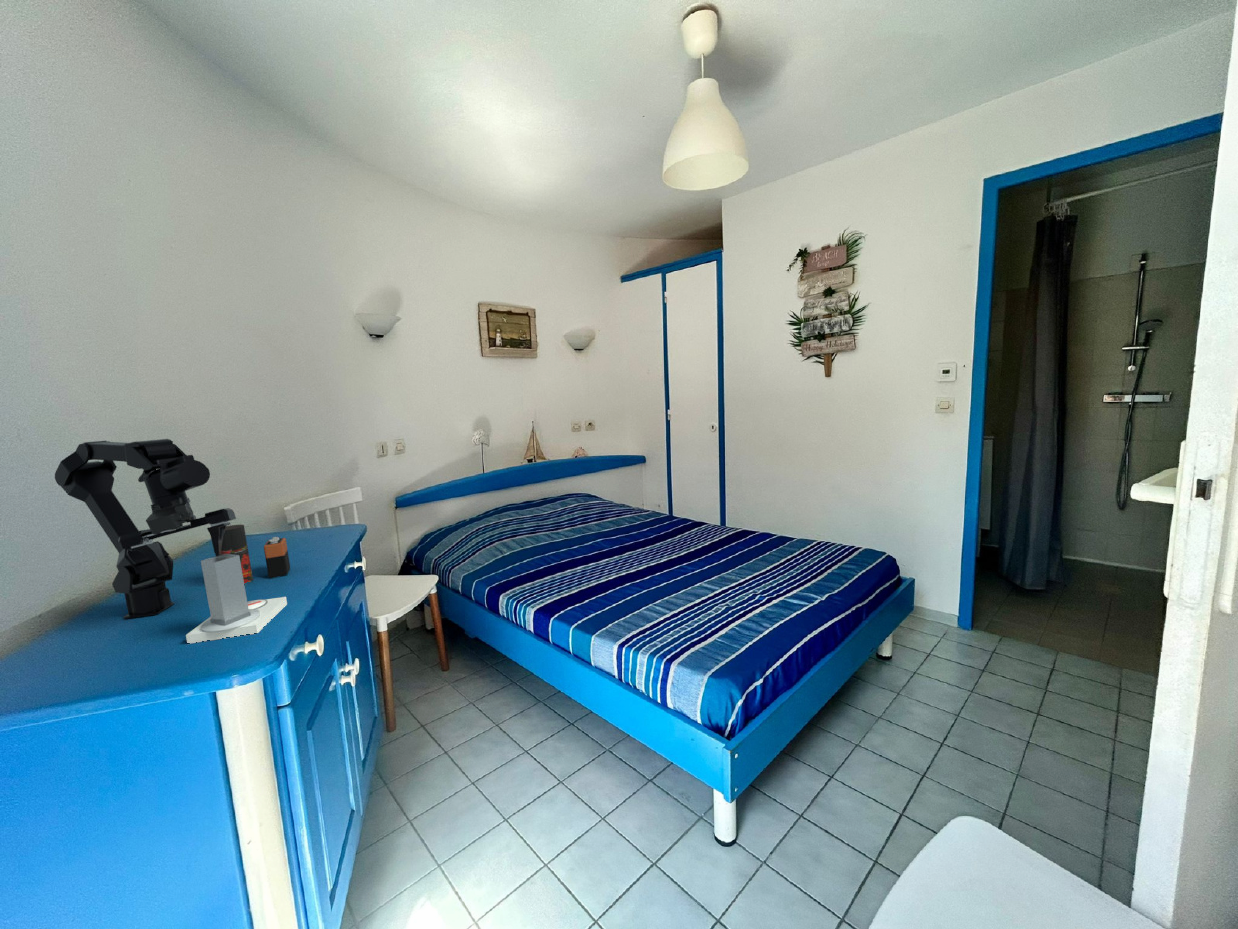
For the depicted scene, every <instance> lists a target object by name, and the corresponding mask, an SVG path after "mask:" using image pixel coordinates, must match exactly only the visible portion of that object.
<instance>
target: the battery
mask: <svg viewBox="0 0 1238 929" xmlns="http://www.w3.org/2000/svg"><path fill="white" fill-rule="evenodd" d="M263 551H264V557H265V563H266V570H267V576H268V578H269V579H273V577H275V578H279V577H278V576H280V577H285V576H288V574H289V572H290V570H291V564H290V558H289V557H290V556H289V551H288V545H287V538H285V537H281V538H279V536H274V537H272V539H269V540H267V542H265V544H264V545H263ZM284 575H285V576H284Z"/></svg>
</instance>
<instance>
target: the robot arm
mask: <svg viewBox="0 0 1238 929" xmlns="http://www.w3.org/2000/svg"><path fill="white" fill-rule="evenodd" d="M92 460H93V461H92ZM115 461H116V462H124V463H126V465H127V466H128V467H132V468H135V469H138V470H142V473H141V475H140V476H139V477H138V479H137V480H138V483H144V485H145V487H146V490H147V493H148V495H149V496H148V497H149V499H150V502H151V504H150V508H151V509H150V510H151V514H150V515H148V517H147V518H146V520H145V522H146V524H147V526H148V528H147V529H142V530H139V529H138V527H137V526H136V524H135V523H134V521H133V520H132V519H131V518H132V517H130V515H129V514H128V513H127V511H126V510H125V508H124V507H123V505H122V504H121V502H120V501H119V499H118V498H117V496H116V495H115V494H114V492H113V486H114V483H115V476H114V473H115V471H116V470H117V468H118V467H117V465H116V463H115ZM210 471H211V470H210V469H209V468H208V467H207V466H206V464H205V463H203V462H201V461H200V460H195V457H194V455H193V454H186V453H185V451H183V450H182V449H181V448H180V447H179V446H178V445H177V444H175V443H174V441H173V440H171V439H169V438H163V439H162V438H161V439H152V440H139V441H132V442H120V441H118V442H117V441H116V442H115V441H110V440H97V441H85V442H82V443H79V444H78V445H77V447H76V449H75V451H73V452H72V453H70V454H69V455H68V456H67V457H65V458H63V459H62V460H60V462H59V465H58V467H57V469H56V470H55V472H54V480H55V483H56V484H57V485H58V486H59V487H60V488H62V490H63V491H64V492H65V493H66V494H67V495H68V496H70V497H72V498H74V499H76V500H78V501H81V502H83V503H85V505H86V506H87V508H88V509H89V511H90V512H91V513H92V515H93V516H94V518H95V520H96V521H97V523H98V524H99V526H100V527H101V528H102V530H103V531H104V533H105V534H106V536H107V538H108V539H109V541H110V542H111V544H112V545H113V547H114V548H115V549H116V552H118V556H117V561H116V569H117V574H116V575H115V577H114V579H113V582H112V584H111V585H112V587H113V589H114V592H115V593H118V594H124V599H125V603H126V607H127V613H128V614H126V615H124V616H123V619H124V620H126V619H135V618H140V617H142V616H143V617H149V616H156V615H159V614H160V613H162V612H164V611H166V610H167V609H169V608H170V607H172V606H173V605H174V604H175V602H174V601H172V600H171V595H170V594H171V593H170V588H168V587H167V585H166V582H167V581H168V582H169V581H172V580H173V573H174V572H173V571H174V560H173V559H172V557H171V556H170V553H169V552H167V551H166V549H165V547H164V546H163V544H162V543H161V542H159V541H158V540H157V541H153V540H155V539H158V538H162V537H165V536H169V535H174V534H177V533H181V532H184V531H187V530H192V529H195V528H199V527H203V526H206V525H210V527H207V528H206V529H207V531H208V533H209V535H210V540H211V543H212V548H213V552H214V555H215V557H216V556H220V555H221V548H222V540H223V535H224V532H225V528H226V526H231V521H233V520H234V521H235V520H237V517H236V514H235V512H234V510H233V509H232V508H229V507H227V508H226V507H225V508H220V509H217V510H213V511H209V512H206V513H204V516H201V517H199V518H197V517H196V515H194V511H193V509H192V507H191V504H190V503H191V500H190V498H189V497H188V495H187V493H186V491H190V490H192V489H195V488H198V487H201V486H203V485H205V484H206V483H208V481H209V480H210V478H211V477H210V476H211V472H210ZM185 523H187V524H186V525H184V524H185ZM188 523H189V524H188ZM143 617H142V618H143Z"/></svg>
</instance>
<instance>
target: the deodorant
mask: <svg viewBox="0 0 1238 929" xmlns="http://www.w3.org/2000/svg"><path fill="white" fill-rule="evenodd" d="M246 534H247V533H246V529H245V525H244V524H232V525H231V524H230V525H227V526H226V528H225V532H224V535H223V540H222V548H221V555H223V554H232V555H239V557H240V563H241V568H242V574H243V580H244V584H245V583H247V582H250V583H252V582H253V581H254V577H253V571H252V566H251V559H250V552H249V548H248V541H247V536H246ZM252 580H253V581H252ZM251 581H252V582H251ZM245 585H246V584H245Z"/></svg>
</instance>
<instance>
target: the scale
mask: <svg viewBox="0 0 1238 929" xmlns="http://www.w3.org/2000/svg"><path fill="white" fill-rule="evenodd" d="M247 603H248V609H249V612H250V613H251V616H248V617H246V618H243V619H241V620H239V621H236V622H234V623H231V624H229V625H226V626H224V625H219V624H214V623H211V621H210V619H211V615H210V616H209V617H208V618H207V619H205V620H204V621H202V623H200V624H198V626H196V627H195V628H194V629H192V630H191V631H189V632H188V633H186V635H185V637H186V638H185V639H186V642H187V643H190V644H196V642H197V643H202V641H204V642H208V641H207V640H210V641H216V640H222V638H224V639H227V638H226V637H230V638H235V637H234V636H237V637H241V636H240V635H244V636H247V635H246V634H250V635H255V634H254V633H257V634H258V633H260V632H261V631H262V630H263V629H264V628H265V627H266V626H267V625H268V624H269V623H270V622H271V621H272V620H273V619H274V617H276V616H277V615H278V614H279V613H280V612H281V611H282V610H283V609H284V608H285V607H286V606H287V605H288V601H287V596H282V597H274V598H268V599H266V598H265V599H256V600H255V599H254V600H247ZM271 619H272V620H271ZM267 623H268V624H267ZM264 626H265V627H264ZM263 627H264V628H263Z"/></svg>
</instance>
